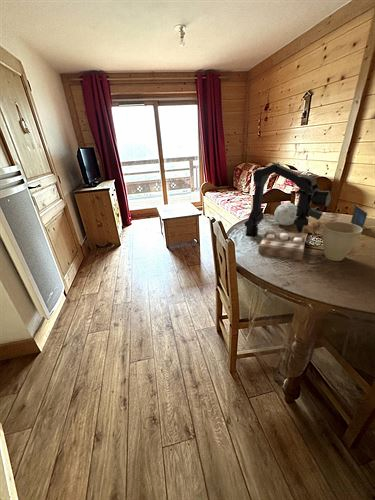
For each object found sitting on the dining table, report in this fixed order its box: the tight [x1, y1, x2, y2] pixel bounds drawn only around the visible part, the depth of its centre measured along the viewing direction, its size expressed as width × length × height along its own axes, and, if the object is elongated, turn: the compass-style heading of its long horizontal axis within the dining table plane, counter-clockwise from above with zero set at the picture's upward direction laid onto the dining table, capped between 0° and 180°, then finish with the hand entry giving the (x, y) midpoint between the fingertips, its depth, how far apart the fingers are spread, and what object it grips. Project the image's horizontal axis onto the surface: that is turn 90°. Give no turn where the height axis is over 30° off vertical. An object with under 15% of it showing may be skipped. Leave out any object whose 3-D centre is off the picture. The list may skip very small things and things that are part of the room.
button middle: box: [280, 232, 289, 240], centre depth 118 cm, size 4×4×4 cm
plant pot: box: [322, 221, 363, 262], centre depth 101 cm, size 15×15×16 cm
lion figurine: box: [302, 220, 325, 236], centre depth 130 cm, size 15×5×9 cm, turn 36°
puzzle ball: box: [274, 202, 298, 227], centre depth 145 cm, size 15×15×15 cm
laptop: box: [350, 204, 368, 234], centre depth 132 cm, size 18×12×13 cm
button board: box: [257, 230, 307, 261], centre depth 117 cm, size 21×22×5 cm
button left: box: [266, 234, 275, 239], centre depth 122 cm, size 4×4×4 cm
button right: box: [293, 237, 303, 242], centre depth 116 cm, size 4×4×4 cm
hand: (299, 232), depth 113 cm, fingers closed
